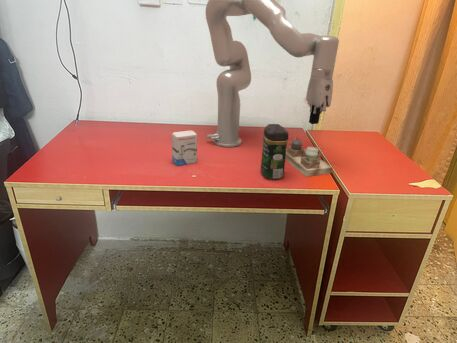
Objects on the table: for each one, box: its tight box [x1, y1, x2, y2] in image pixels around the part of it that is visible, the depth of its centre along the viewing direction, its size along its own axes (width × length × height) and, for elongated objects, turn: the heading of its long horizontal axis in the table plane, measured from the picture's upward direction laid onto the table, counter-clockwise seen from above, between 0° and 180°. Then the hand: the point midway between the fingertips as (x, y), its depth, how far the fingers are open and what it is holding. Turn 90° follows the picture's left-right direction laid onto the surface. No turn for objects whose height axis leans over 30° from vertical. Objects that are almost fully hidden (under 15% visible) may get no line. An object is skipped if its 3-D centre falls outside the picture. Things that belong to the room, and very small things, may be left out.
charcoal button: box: [290, 139, 304, 151], centre depth 136 cm, size 4×4×4 cm
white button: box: [306, 146, 319, 153], centre depth 133 cm, size 4×4×4 cm
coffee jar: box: [260, 123, 289, 180], centre depth 122 cm, size 10×8×19 cm
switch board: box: [285, 145, 333, 178], centre depth 134 cm, size 11×18×5 cm, turn 19°
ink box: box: [171, 130, 198, 166], centre depth 130 cm, size 9×5×12 cm, turn 117°
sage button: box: [305, 150, 319, 162], centre depth 127 cm, size 4×4×4 cm
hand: (313, 123), depth 129 cm, fingers closed
